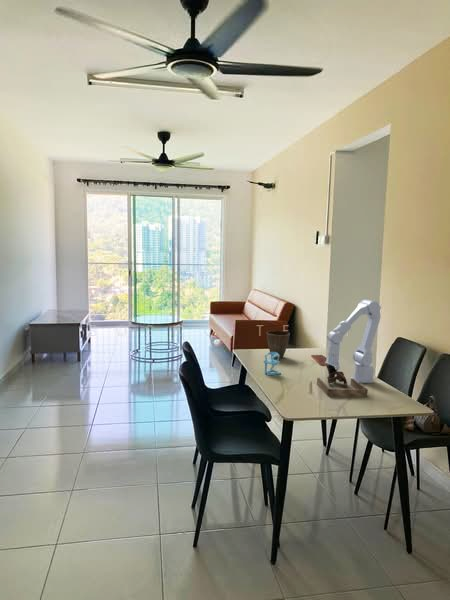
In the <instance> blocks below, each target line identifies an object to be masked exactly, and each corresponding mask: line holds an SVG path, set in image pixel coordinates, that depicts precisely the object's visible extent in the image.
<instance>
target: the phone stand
mask: <svg viewBox="0 0 450 600" xmlns="http://www.w3.org/2000/svg"><path fill="white" fill-rule="evenodd" d="M268 355H270V359H268V358H267V356H268ZM272 355H274V356H273V357H272ZM275 357H278V358H275ZM279 357H280V355H279V354H278V353H276V352H270V351H269V352H267V353H266V354H264V358H265V359H264V360H263V363H264V373H263V374H264V375H267V376H275V375H276V376H277V375H282V371H278V370H275V369H274V367H275V366H276V365H278V364H281V361H279V359H280V358H279ZM268 364H269V365H270V366H271V367H270V369H268ZM267 369H268V370H267Z"/></svg>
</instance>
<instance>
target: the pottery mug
mask: <svg viewBox="0 0 450 600" xmlns="http://www.w3.org/2000/svg"><path fill="white" fill-rule="evenodd" d="M334 375H335V377H333V378H331V377H332V376H334ZM326 379H327V383H328V384H337V381H338V382H340V383H343V385H344V388H345V389H348V381H347V378H346V377H345V374H344V372H343V371H340V370H339V371H338V370H337V371H336V372H333V373H331V374H329V373H328V376H327V377H326Z"/></svg>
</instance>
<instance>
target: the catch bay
mask: <svg viewBox="0 0 450 600" xmlns="http://www.w3.org/2000/svg"><path fill="white" fill-rule="evenodd" d="M316 385H317V386H318V388H319V389H321V390H322V392H323V393H324V394H325V395H326V396H327V397H334V398H335V397H346V398H347V397H349V398H350V397H352V398H353V397H355V398H356V397H360V398H363V397H364V398H365V397H368V393H369V392H368V391H369V390H368V389H367V388H366V387H365V386H364V385H363V384H361V383H359V382H357V381H356V380H355V379H354V378H351V377H350V386H351V387H352V388H331V387H329V386H328V385H327V384H326V382H325V381H323V379H321V378H320V377H317V378H316Z"/></svg>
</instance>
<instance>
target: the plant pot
mask: <svg viewBox="0 0 450 600" xmlns="http://www.w3.org/2000/svg"><path fill="white" fill-rule="evenodd" d="M290 336H291V333H290V332H288V331H285V330H269V331H268V330H267V331H266V339H267V340H266V341H267V346H268V350H269V352H276V353H278V354H279V355H280V357H279V359H283V358H284V357H285V354H286V351H287V348H288V344H289V342H290ZM273 356H274V355H272V357H273ZM277 358H278V357H275V358H274V359H277Z"/></svg>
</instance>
